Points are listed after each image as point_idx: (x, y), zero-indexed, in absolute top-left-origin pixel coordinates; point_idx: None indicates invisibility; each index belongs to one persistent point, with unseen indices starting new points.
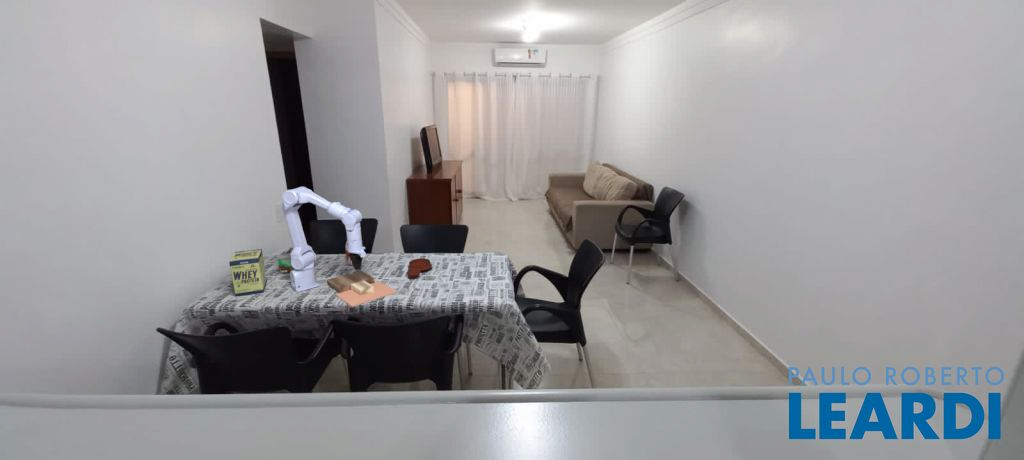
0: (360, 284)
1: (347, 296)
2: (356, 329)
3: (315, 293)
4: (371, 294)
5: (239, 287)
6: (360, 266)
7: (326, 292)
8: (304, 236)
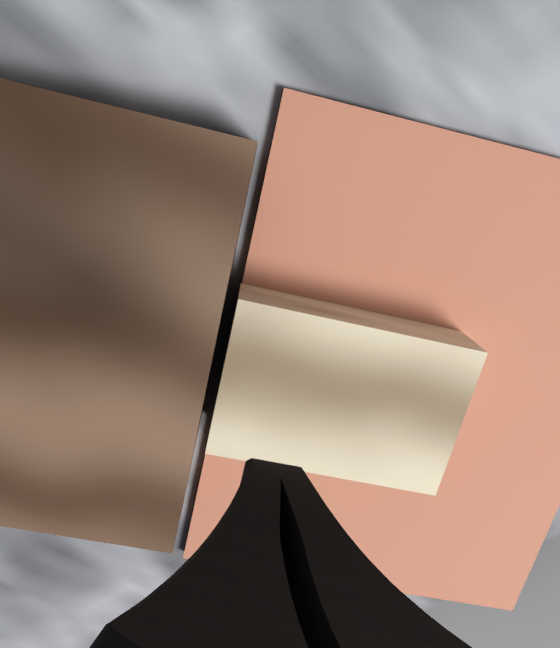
0: (313, 402)
1: None
2: None
3: (2, 617)
4: (492, 391)
5: None
6: (314, 496)
7: (59, 560)
8: None
